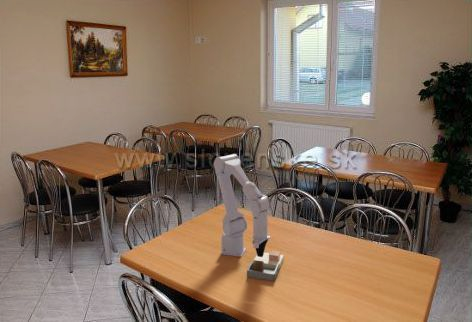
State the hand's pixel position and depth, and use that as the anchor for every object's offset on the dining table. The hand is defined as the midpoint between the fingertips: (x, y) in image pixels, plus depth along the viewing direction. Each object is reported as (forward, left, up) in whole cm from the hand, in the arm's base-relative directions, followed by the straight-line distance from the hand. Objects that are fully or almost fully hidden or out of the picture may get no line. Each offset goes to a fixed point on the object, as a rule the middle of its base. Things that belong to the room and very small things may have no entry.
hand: (260, 256), depth 163 cm
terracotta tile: (+5, +4, -3) cm, 7 cm away
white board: (+3, +4, -5) cm, 6 cm away
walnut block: (0, -4, -2) cm, 4 cm away
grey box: (+3, -5, -5) cm, 7 cm away
